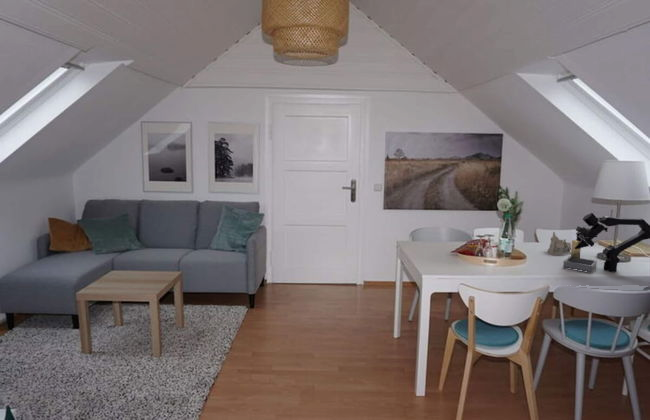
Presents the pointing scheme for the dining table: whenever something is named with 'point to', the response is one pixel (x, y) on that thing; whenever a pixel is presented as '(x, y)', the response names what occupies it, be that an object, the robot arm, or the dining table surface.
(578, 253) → the brass canister
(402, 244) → the dining table surface
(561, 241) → the ceramic cottage
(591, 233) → the robot arm
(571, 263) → the charcoal bin
